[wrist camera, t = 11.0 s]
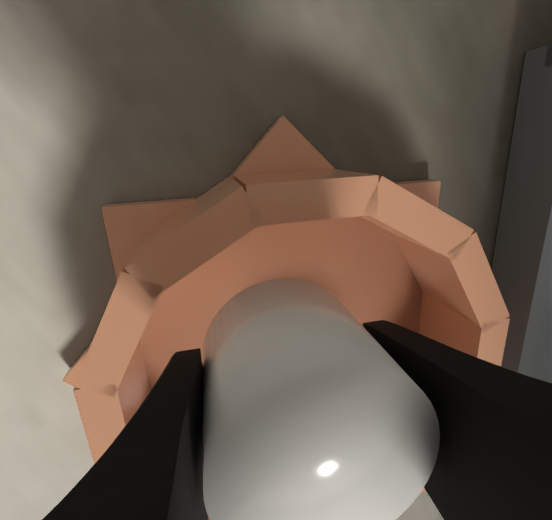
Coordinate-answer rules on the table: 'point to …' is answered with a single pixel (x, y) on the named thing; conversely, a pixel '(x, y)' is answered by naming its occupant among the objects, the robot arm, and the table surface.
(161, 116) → the table surface
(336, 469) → the white rounded capsule
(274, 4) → the table surface
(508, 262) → the parts tray
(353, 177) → the terracotta bowl
